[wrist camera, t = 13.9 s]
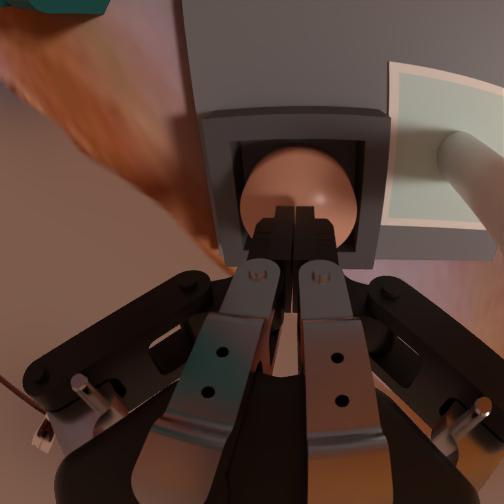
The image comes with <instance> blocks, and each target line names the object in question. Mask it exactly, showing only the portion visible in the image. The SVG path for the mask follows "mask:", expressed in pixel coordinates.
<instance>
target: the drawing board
mask: <svg viewBox="0 0 504 504" xmlns="http://www.w3.org/2000/svg"><path fill="white" fill-rule="evenodd" d="M182 8H183V17H184V26H185V34H186V42H187V51H188V58H189V66H190V74H191V81H192V88H193V96H194V103H195V110H196V116H197V123H198V130H199V136H200V143H201V149H202V156H203V162H204V168H205V174H206V180H207V186H208V192H209V198H210V204H211V210H212V215H213V221H214V227H215V232H216V238H217V243H218V249H219V254H220V256H224V261H225V266H228V267H239V265H241V264H242V263H244V262H245V261H246V260H247V257H248V253H249V249H250V245H251V242H252V238H251V237H250V235H249V234H248V232H247V231H246V229H245V227H244V224H243V221H242V218H241V213H240V202H241V197H242V193H243V190H244V188H245V185H246V183H247V181H248V178H249V176H250V173H251V171H252V169H253V167H254V166H255V164H256V163H257V161H258V160H259V159H260V158H261V157H262V156H263V155H264V154H266V153H267V152H269V151H270V150H272V149H274V148H276V147H278V146H281V145H285V144H290V143H306V144H312V145H315V146H318V147H320V148H323V149H325V150H326V151H328V152H330V153H331V154H332V155H333V156H335V157H336V158H337V159H338V160H339V161H340V163H341V164H342V165H343V167H344V168H345V170H346V172H347V174H348V177H349V180H350V183H351V186H352V188H353V191H354V194H355V198H356V203H357V216H356V221H355V224H354V227H353V229H352V231H351V233H350V234H349V236H348V237H347V239H346V240H345V241H344V242H343V243H342V244H341V245H340V246H339V247H337V254H338V261H339V267H340V268H341V269H373V265H374V260H375V259H393V260H473V261H492V260H493V257H494V255H495V252H496V250H497V247H498V246H497V244H496V243H495V241H494V240H493V238H492V237H491V235H490V234H489V233H488V231H487V230H486V228H485V227H484V226H483V224H482V223H481V222H480V220H479V219H478V218H477V216H476V215H475V214H474V212H473V211H472V210H471V209H470V207H469V206H468V205H467V204H466V202H465V201H464V200H463V199H462V197H461V196H460V195H459V194H458V193H457V191H456V190H455V189H454V188H453V187H452V186H451V184H450V183H449V182H448V181H447V180H446V179H445V178H444V177H443V175H442V174H441V173H440V171H439V168H438V165H437V152H438V148H439V146H440V144H441V142H442V141H443V140H444V138H445V137H447V136H448V135H449V134H451V133H453V132H458V131H463V132H467V133H469V134H471V135H472V136H474V137H475V138H477V139H478V140H480V141H481V142H483V143H484V144H486V145H487V146H488V147H490V148H491V149H493V150H494V151H495V152H497V153H498V154H500V155H501V156H502V157H504V0H182Z"/></svg>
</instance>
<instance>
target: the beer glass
mask: <svg viewBox="0 0 504 504" xmlns="http://www.w3.org/2000/svg"><path fill="white" fill-rule="evenodd" d="M54 435H55V433H54V430H53V428H52V425H51V423H50V420H49V417H48V415H47V413H46V415H45V418H44V421H43V423H42V424H41V425H40V427H39V428H38V429H37V431H36V433H35V435H34V437H33V440H32V443H31V444H32V445H33V446H35V447H37V448H38V449H40V450H42V451H43V452H45V453H46V454H48V452H49V450H50V448H51V446H52V443H53V440H54Z"/></svg>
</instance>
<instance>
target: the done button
mask: <svg viewBox="0 0 504 504" xmlns="http://www.w3.org/2000/svg"><path fill="white" fill-rule="evenodd" d="M276 206H295V216H296V206H314V212H315V218H327V219H328V220H329V221H330V222H331V223H332V224H333V225H334V232H335V239H336V246H337V247H339V246H340V245H341V244H342V243H343V242H344V241H345V240H346V239H347V237H348V236H349V234H350V233H351V231H352V229H353V227H354V224H355V221H356V216H357V203H356V198H355V194H354V191H353V188H352V186H351V183H350V180H349V177H348V174H347V172H346V170H345V168H344V167H343V165H342V164H341V163H340V161H339V160H338V159H337V158H336V157H335V156H333V155H332V154H331V153H330V152H328V151H326V150H325V149H323V148H320V147H318V146H315V145H312V144H306V143H290V144H285V145H281V146H278V147H276V148H274V149H272V150H270V151H269V152H267V153H266V154H264V155H263V156H262V157H261V158H260V159H259V160H258V161H257V163H256V164H255V166H254V167H253V169H252V171H251V173H250V176H249V178H248V181H247V183H246V185H245V188H244V190H243V193H242V197H241V202H240V213H241V218H242V221H243V224H244V227H245V229H246V231H247V232H248V234H249V235H250V237H251V238H253V234H254V230H255V227H256V224H257V223H258V222H259V221H260V220H261V219H262V218H274V216H275V210H276Z"/></svg>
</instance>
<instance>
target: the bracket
mask: <svg viewBox="0 0 504 504" xmlns="http://www.w3.org/2000/svg"><path fill="white" fill-rule="evenodd" d="M109 2H110V0H0V6H2V7H6V6H14V7H16V8H20V9H27V10H33V11H39V12H45V13H52V14H57V13H79V14H102V15H104V13H105V11H106V9H107V6H108V4H109Z"/></svg>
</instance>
